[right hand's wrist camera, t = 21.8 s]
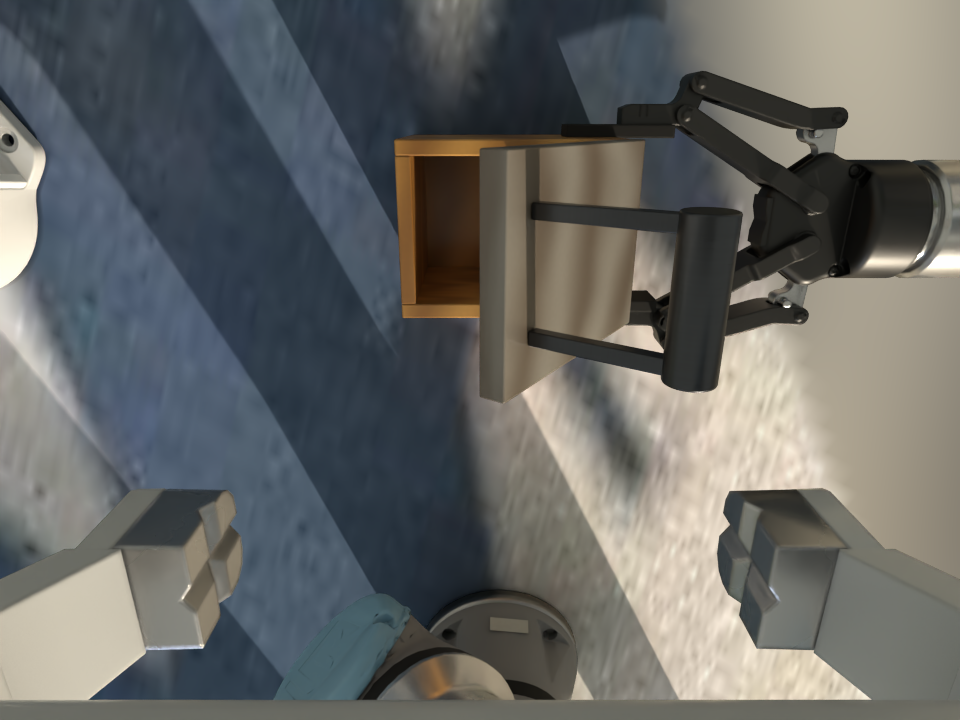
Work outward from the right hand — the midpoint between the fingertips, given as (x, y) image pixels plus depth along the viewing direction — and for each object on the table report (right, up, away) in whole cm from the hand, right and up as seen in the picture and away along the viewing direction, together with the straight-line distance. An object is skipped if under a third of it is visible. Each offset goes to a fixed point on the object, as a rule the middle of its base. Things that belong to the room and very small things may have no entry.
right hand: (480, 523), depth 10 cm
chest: (+2, +14, +36) cm, 39 cm away
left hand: (+5, +12, +31) cm, 33 cm away
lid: (+4, +8, +20) cm, 22 cm away
